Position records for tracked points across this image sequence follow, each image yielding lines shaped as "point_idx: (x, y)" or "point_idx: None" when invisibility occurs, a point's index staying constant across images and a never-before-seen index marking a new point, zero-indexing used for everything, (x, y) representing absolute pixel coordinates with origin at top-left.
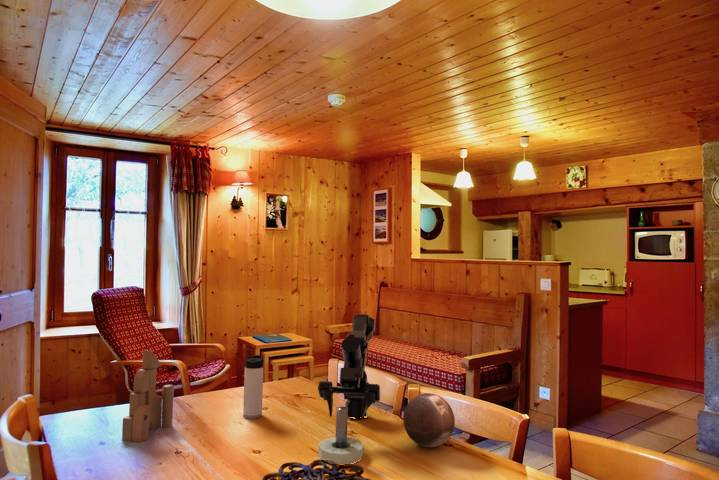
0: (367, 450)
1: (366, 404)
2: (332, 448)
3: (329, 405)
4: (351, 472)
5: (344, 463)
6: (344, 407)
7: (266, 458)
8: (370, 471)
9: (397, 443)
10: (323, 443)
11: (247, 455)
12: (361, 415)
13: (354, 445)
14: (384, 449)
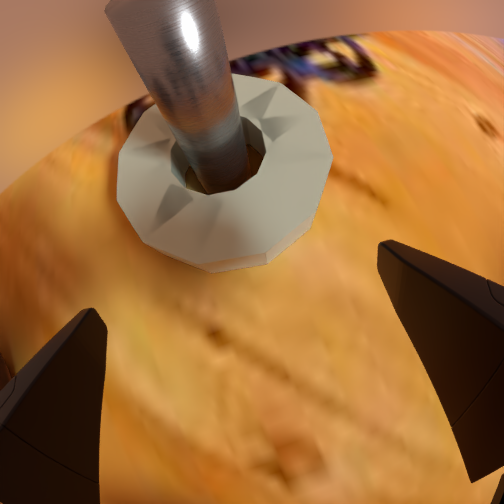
0: (135, 280)
1: (7, 386)
2: (240, 104)
3: (459, 276)
4: None
5: None
6: (136, 3)
7: (437, 90)
8: (104, 126)
9: None
10: (306, 132)
11: (480, 101)
12: (82, 314)
13: (153, 174)
14: None
